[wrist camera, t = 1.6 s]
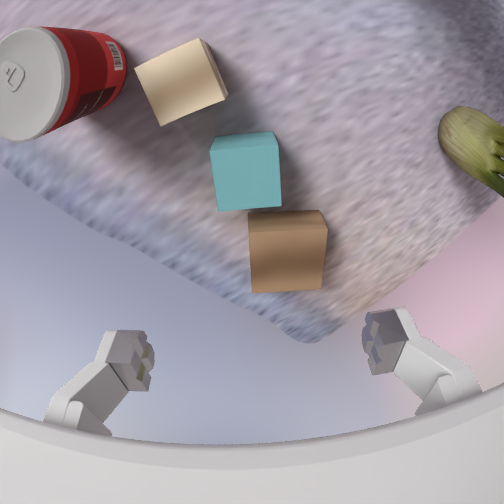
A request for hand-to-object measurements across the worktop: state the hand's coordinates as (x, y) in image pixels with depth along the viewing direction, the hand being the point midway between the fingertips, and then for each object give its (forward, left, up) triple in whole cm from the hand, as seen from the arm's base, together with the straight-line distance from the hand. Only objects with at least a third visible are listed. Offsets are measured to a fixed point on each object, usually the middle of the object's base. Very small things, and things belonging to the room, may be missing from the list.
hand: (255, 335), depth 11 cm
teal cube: (0, 0, -20) cm, 20 cm away
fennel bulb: (-3, +21, -20) cm, 29 cm away
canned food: (-11, -13, -20) cm, 26 cm away
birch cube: (-8, -4, -20) cm, 22 cm away
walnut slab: (+9, +3, -20) cm, 22 cm away
